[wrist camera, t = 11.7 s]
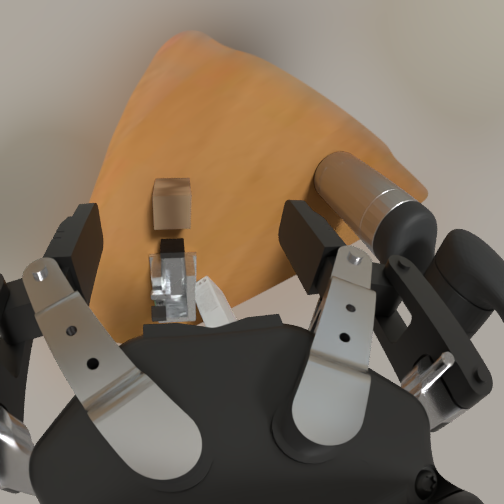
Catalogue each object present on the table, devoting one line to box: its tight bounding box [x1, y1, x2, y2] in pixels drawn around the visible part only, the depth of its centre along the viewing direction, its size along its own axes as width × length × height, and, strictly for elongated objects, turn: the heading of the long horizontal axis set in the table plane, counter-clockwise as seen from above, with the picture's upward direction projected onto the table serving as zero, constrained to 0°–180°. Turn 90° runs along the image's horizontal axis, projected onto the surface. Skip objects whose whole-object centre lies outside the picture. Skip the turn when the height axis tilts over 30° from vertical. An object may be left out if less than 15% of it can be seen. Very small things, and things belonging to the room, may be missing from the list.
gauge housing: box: [149, 252, 196, 323], centre depth 47 cm, size 8×11×6 cm
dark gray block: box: [152, 305, 167, 322], centre depth 43 cm, size 2×1×3 cm, turn 82°
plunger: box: [151, 238, 185, 300], centre depth 42 cm, size 6×10×6 cm, turn 172°
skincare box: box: [195, 276, 237, 328], centre depth 49 cm, size 6×4×12 cm
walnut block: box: [153, 178, 192, 230], centre depth 37 cm, size 5×5×6 cm
